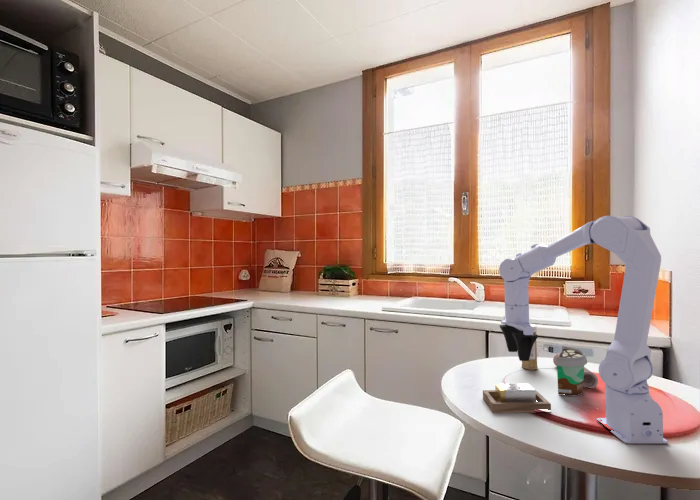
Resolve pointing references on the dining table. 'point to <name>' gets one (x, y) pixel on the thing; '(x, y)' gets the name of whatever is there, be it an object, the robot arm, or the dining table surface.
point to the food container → (570, 371)
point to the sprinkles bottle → (532, 355)
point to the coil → (589, 377)
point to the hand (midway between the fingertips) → (518, 355)
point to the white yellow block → (515, 393)
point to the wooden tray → (514, 404)
